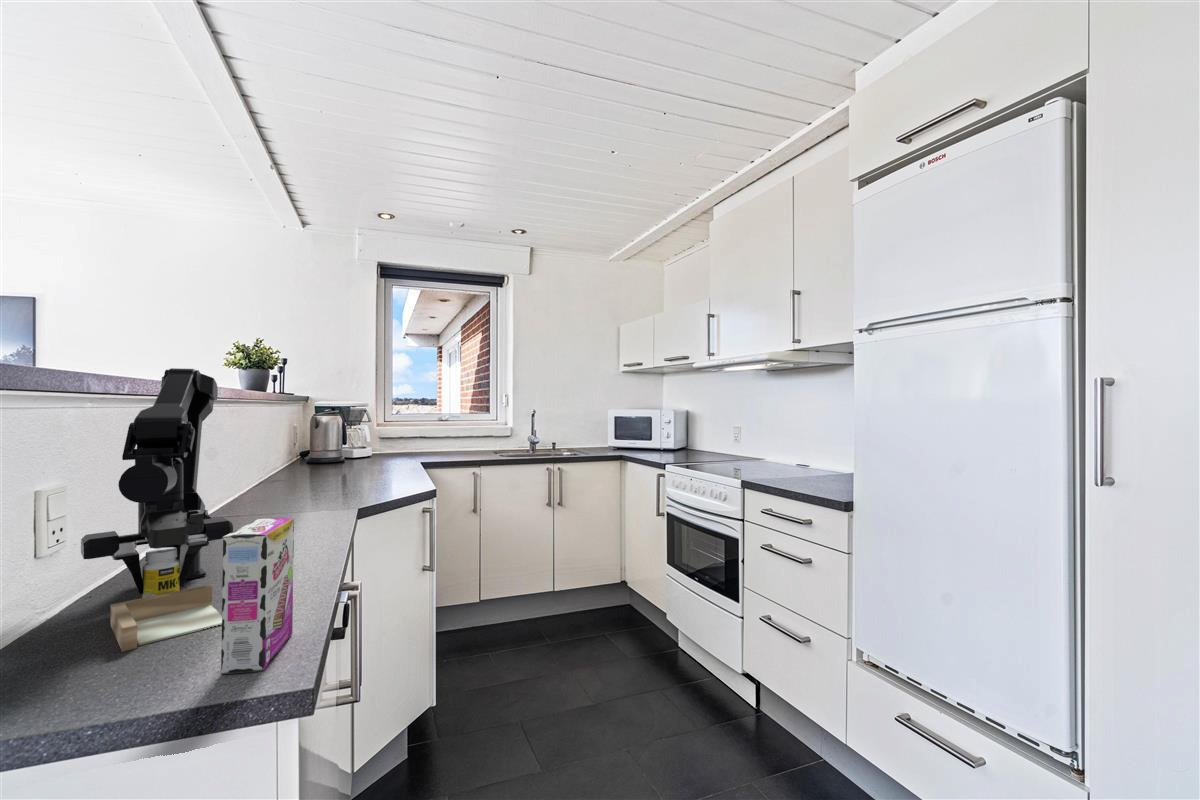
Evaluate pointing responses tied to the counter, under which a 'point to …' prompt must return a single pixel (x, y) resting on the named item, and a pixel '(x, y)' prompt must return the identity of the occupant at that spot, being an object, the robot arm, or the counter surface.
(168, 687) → the counter surface
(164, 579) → the supplement bottle
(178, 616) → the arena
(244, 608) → the candy bar box
